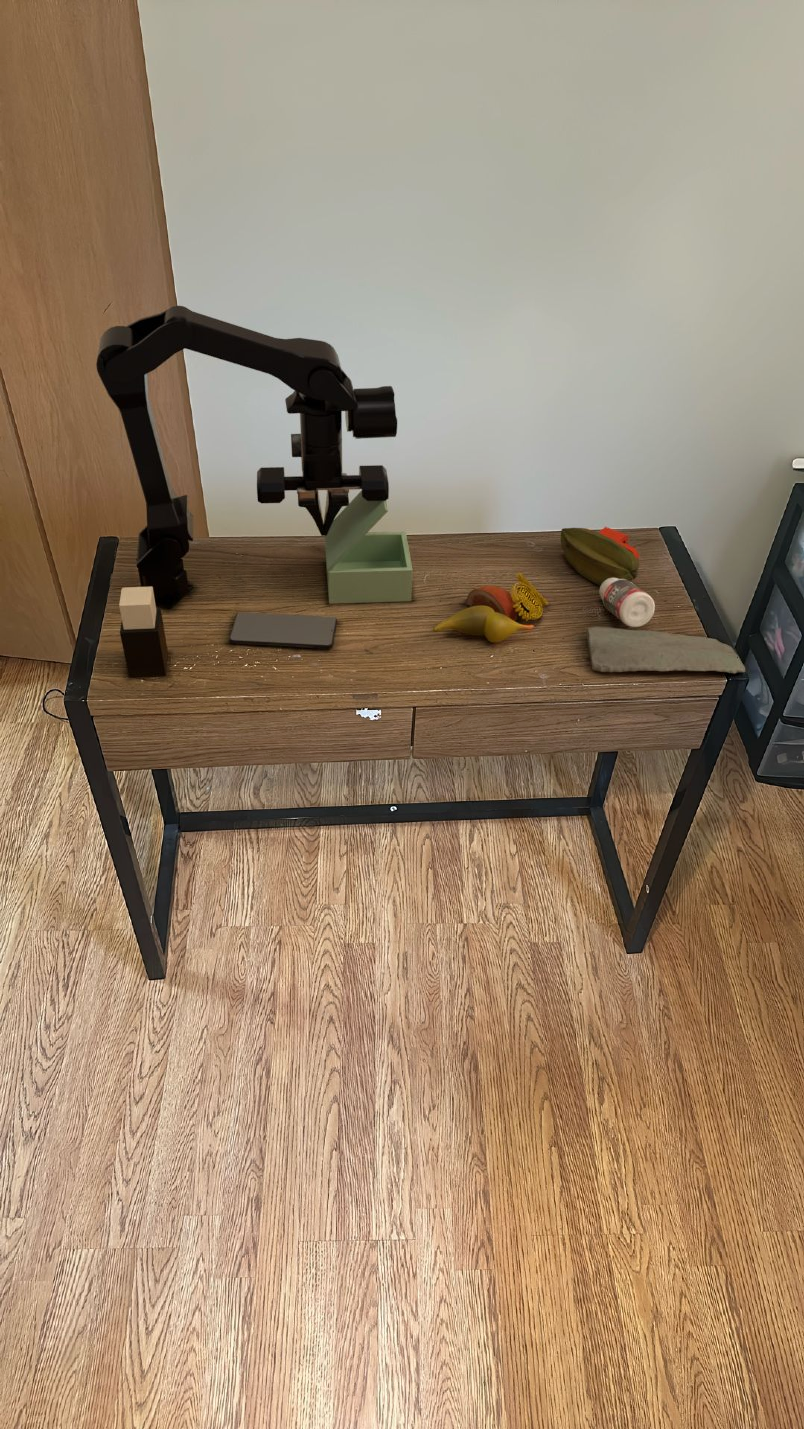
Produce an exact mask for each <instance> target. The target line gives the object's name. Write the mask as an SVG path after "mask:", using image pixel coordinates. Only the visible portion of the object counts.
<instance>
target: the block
mask: <svg viewBox="0 0 804 1429" xmlns="http://www.w3.org/2000/svg"><path fill="white" fill-rule="evenodd" d="M118 608H119V612H120V618H121V621H122V623H123V628H124V630H128V629H152V628H155V620H156V611H157V610H156V608H157V605H156V604H155V598H154V593H153V587H141V586H131V587H130V586H129V587H121V591H120V596H119V603H118Z"/></svg>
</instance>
